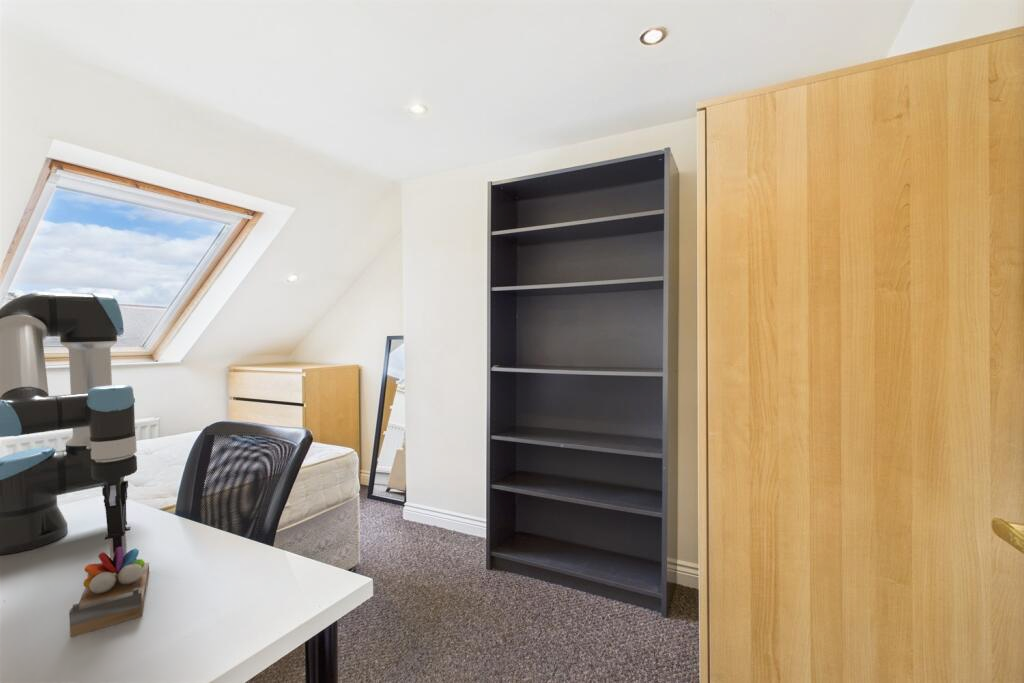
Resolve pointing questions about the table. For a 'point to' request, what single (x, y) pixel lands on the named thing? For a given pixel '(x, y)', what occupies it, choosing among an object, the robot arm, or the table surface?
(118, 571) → the rainbow wooden ball puzzle
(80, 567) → the table surface
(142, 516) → the table surface
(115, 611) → the wooden display stand
